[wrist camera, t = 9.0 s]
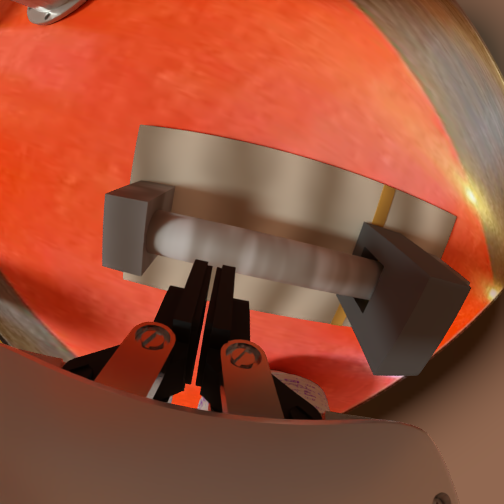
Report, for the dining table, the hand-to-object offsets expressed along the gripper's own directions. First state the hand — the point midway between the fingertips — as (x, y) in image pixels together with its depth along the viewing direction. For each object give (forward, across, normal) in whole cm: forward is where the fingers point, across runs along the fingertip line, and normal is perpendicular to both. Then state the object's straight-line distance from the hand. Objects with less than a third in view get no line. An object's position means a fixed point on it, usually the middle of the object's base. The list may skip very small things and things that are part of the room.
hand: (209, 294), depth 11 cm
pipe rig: (+12, -6, +1) cm, 14 cm away
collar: (+10, -13, +1) cm, 16 cm away
